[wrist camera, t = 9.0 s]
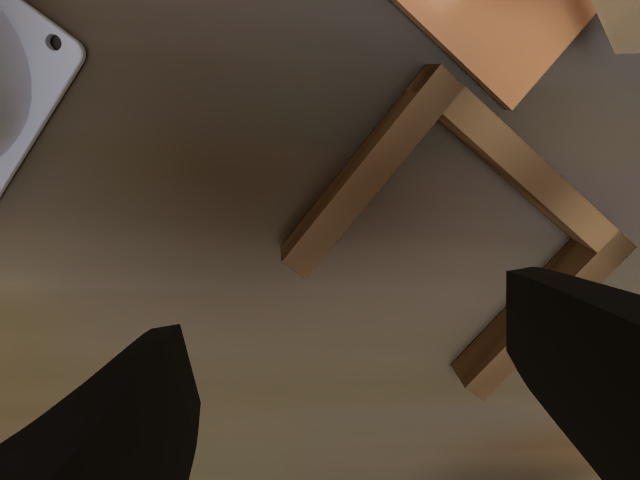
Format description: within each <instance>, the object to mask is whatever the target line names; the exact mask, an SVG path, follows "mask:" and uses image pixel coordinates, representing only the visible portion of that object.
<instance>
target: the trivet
mask: <svg viewBox="0 0 640 480" xmlns="http://www.w3.org/2000/svg"><path fill="white" fill-rule="evenodd" d="M391 1H392V2H393V3H394V4H395V5H396V6H397V7H398V8H399V9H400V10H401V11H402V12H403V13H404V14H405V15H406V16H407V17H408V18H409V19H411V20H412V21H413V22H414V23H415V24H416V25H417V26H418V27H419V28H420V29H421V30H422V31H423V32H424V33H425V34H426V35H427V36H428V37H429V38H431V39H432V40H433V41H434V42H435V43H436V44H437V45H438V46H439V47H440V48H441V49H442V50H443V51H444V52H445V53H446V54H447V55H448V56H449V57H451V58H452V59H453V60H454V61H455V62H456V63H457V64H458V65H459V66H460V67H461V68H462V69H463V70H464V71H465V72H466V73H467V74H468V75H469V76H471V77H472V78H473V79H474V80H475V81H476V82H477V83H478V84H479V85H480V86H481V87H482V88H483V89H484V90H485V91H486V92H487V93H488V94H490V95H491V96H492V97H493V98H494V99H495V100H496V101H497V102H498V103H499V104H500V105H501V106H502V107H503V108H504V109H506V110H513V109H514V108H515V107H516V106H517V104H518V103H519V102H520V101H521V100H522V99H523V97H524V96H525V95H526V94H527V93H528V92H529V91H530V89H531V88H532V87H533V86H534V85H535V84H536V82H537V81H538V80H539V79H540V78H541V77H542V75H543V74H544V73H545V72H546V71H547V70H548V68H549V67H550V66H551V65H552V64H553V63H554V62H555V60H556V59H557V58H558V57H559V56H560V55H561V53H562V52H563V51H564V50H565V49H566V48H567V46H568V45H569V44H570V43H571V42H572V41H573V39H574V38H575V37H576V36H577V35H578V34H579V33H580V31H581V30H582V29H583V28H584V27H585V26H586V24H587V23H588V22H589V21H590V20H591V19H592V17H593V16H594V15H595V14H596V13H597V12H596V10H595V8H594V6H593V3H592V1H591V0H391Z"/></svg>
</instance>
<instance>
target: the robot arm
mask: <svg viewBox="0 0 640 480" xmlns="http://www.w3.org/2000/svg"><path fill="white" fill-rule="evenodd" d="M54 35H57V36H58V37H59V38H60V39H61V43H62V45H61V48H60V49H59V50H54V48H53V47H52V46H51V43H50V40H51V37H53V36H54ZM85 58H86V51H85V49H84V47H83V45H82V44H81V43H80V42H79V41H78V40H77V39H76V38H74V37H73V36H72V35H70V34H69V33H67V32H66V31H65V30H63V29H62V28H61V27H59V26H58V25H57V24H55V23H54V22H53V21H51V20H50V19H48V18H47V17H46V16H44V15H43V14H42V13H40V12H39V11H38V10H36V9H35V8H34V7H32V6H31V5H29V4H28V3H27V2H25V1H24V0H0V197H1V195H2V194H3V192H4V191H5V189H6V187H7V186H8V184H9V182H10V181H11V179H12V178H13V176H14V174H15V173H16V171H17V170H18V168H19V166H20V165H21V163H22V162H23V160H24V158H25V157H26V155H27V153H28V152H29V150H30V149H31V147H32V145H33V144H34V142H35V141H36V139H37V137H38V136H39V134H40V132H41V131H42V129H43V128H44V126H45V124H46V123H47V121H48V120H49V118H50V116H51V115H52V113H53V111H54V110H55V108H56V107H57V105H58V103H59V102H60V100H61V99H62V97H63V95H64V94H65V92H66V91H67V89H68V87H69V86H70V84H71V82H72V81H73V79H74V78H75V76H76V74H77V73H78V71H79V70H80V68H81V66H82V65H83V63H84V61H85ZM506 351H507V353H508V355H509V357H510V358H511V360H512V362H513V364H514V365H515V367H516V369H517V371H518V372H519V374H520V375H521V377H522V379H523V380H524V382H525V384H526V385H527V387H528V388H529V390H530V391H531V392H532V393H533V395H534V396H535V397H536V399H537V400H538V401H539V402H540V404H541V405H542V406H543V407H544V409H545V410H546V411H547V412H548V414H549V415H550V416H551V417H552V419H553V420H554V421H555V422H556V424H557V425H558V426H559V427H560V429H561V430H562V431H563V432H564V433H565V435H566V436H567V437H568V438H569V440H570V441H571V442H572V443H573V445H574V446H575V447H576V448H577V449H578V451H579V452H580V453H581V454H582V456H583V457H584V458H585V459H586V461H587V462H588V463H589V464H590V466H591V467H592V468H593V469H594V470H595V472H596V473H597V474H598V476H599V477H600V478H601V480H640V295H639V294H635V293H632V292H628V291H624V290H621V289H617V288H614V287H610V286H607V285H604V284H600V283H597V282H593V281H590V280H586V279H583V278H579V277H576V276H572V275H569V274H565V273H561V272H557V271H553V270H549V269H544V268H538V267H529V268H523V269H517V270H511V271H506ZM200 404H201V402H200V398H199V395H198V391H197V387H196V383H195V379H194V376H193V372H192V368H191V364H190V361H189V357H188V353H187V349H186V345H185V342H184V338H183V334H182V330H181V327H180V324H177V325H171V326H165V327H159V328H153V329H150V330H149V331H147V332H146V333H144V334H143V335H141V336H140V337H139V338H138V339H136V340H135V341H134V342H133V343H131V344H130V345H129V346H128V347H126V348H125V349H124V350H123V351H122V352H121V353H119V354H118V355H117V356H116V357H115V358H113V359H112V360H111V361H110V362H109V363H107V364H106V365H105V366H104V367H103V368H101V369H100V370H99V371H98V372H97V373H95V374H94V375H93V376H92V377H91V378H89V379H88V380H87V381H86V382H84V383H83V384H82V385H81V386H79V387H78V388H77V389H75V390H74V391H73V392H71V393H70V394H69V395H68V396H66V397H65V398H64V399H62V400H61V401H60V402H58V403H57V404H56V405H55V406H53V407H52V408H51V409H49V410H48V411H47V412H45V413H44V414H43V415H41V416H40V417H39V418H37V419H36V420H34V421H33V422H32V423H30V424H29V425H27V426H26V427H24V428H23V429H22V430H20V431H19V432H17V433H16V434H14V435H13V436H11V437H10V438H8V439H7V440H5V441H4V442H2V443H0V480H189V476H190V472H191V468H192V463H193V459H194V454H195V450H196V445H197V436H198V427H199V416H200Z"/></svg>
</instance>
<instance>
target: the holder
mask: <svg viewBox="0 0 640 480" xmlns="http://www.w3.org/2000/svg"><path fill="white" fill-rule="evenodd" d="M437 120H439V121H440V122H441V123H442V124H443V125H444V126H445V127H447V128H448V129H449V130H450V131H451V132H452V133H453V134H454V135H456V136H457V137H458V138H459V139H460V140H461V141H462V142H463V143H465V144H466V145H467V146H468V147H469V148H470V149H471V150H472V151H474V152H475V153H476V154H477V155H478V156H479V157H480V158H481V159H483V160H484V161H485V162H486V163H487V164H488V165H489V166H490V167H492V168H493V169H494V170H495V171H496V172H497V173H498V174H499V175H501V176H502V177H503V178H504V179H505V180H506V181H507V182H508V183H510V184H511V185H512V186H513V187H514V188H515V189H516V190H517V191H519V192H520V193H521V194H522V195H523V196H524V197H525V198H526V199H528V200H529V201H530V202H531V203H532V204H533V205H534V206H535V207H537V208H538V209H539V210H540V211H541V212H542V213H543V214H544V215H546V216H547V217H548V218H549V219H550V220H551V221H552V222H553V223H555V224H556V225H557V226H558V227H559V228H560V229H561V230H562V231H564V232H565V233H566V234H567V235H568V236H569V237H570V238H571V240H570V241H569V242H568V243H567V244H566V245H565V246H564V247H563V248H562V249H561V250H560V251H559V252H558V253H557V254H556V255H555V256H554V258H553V259H552V260H551V261H550V262H549V263H548V264H547V265H546V266H545V267H544V269H549V270H553V271H557V272H561V273H565V274H569V275H572V276H576V277H579V278H583V279H586V280H590V281H593V282H597V283H600V284H601V283H602V282H603V281H604V280H605V279H606V278H607V277H608V276H609V275H610V274H611V273H612V272H613V271H614V270H615V269H616V268H617V267H618V266H619V265H620V264H621V263H622V262H623V261H624V260H625V259H626V258H627V257H628V256H629V255H630V254H631V253H632V252H633V251H634V250H635V249H636V248H637V247H636V246H635V245H634V244H633V243H632V242H631V241H630V240H629V239H628V238H627V237H626V236H624V235H623V234H622V233H621V232H620V231H619V230H618V229H617V228H616V227H615V226H614V225H613V224H612V223H611V222H610V221H608V220H607V219H606V218H605V217H604V216H603V215H602V214H601V213H600V212H599V211H598V210H597V209H596V208H595V207H594V206H592V205H591V204H590V203H589V202H588V201H587V200H586V199H585V198H584V197H583V196H582V195H581V194H580V193H579V192H578V191H576V190H575V189H574V188H573V187H572V186H571V185H570V184H569V183H568V182H567V181H566V180H565V179H564V178H563V177H562V176H560V175H559V174H558V173H557V172H556V171H555V170H554V169H553V168H552V167H551V166H550V165H549V164H548V163H547V162H546V161H544V160H543V159H542V158H541V157H540V156H539V155H538V154H537V153H536V152H535V151H534V150H533V149H532V148H531V147H530V146H528V145H527V144H526V143H525V142H524V141H523V140H522V139H521V138H520V137H519V136H518V135H517V134H516V133H515V132H514V131H512V130H511V129H510V128H509V127H508V126H507V125H506V124H505V123H504V122H503V121H502V120H501V119H500V118H499V117H498V116H496V115H495V114H494V113H493V112H492V111H491V110H490V109H489V108H488V107H487V106H486V105H485V104H484V103H483V102H482V101H480V100H479V99H478V98H477V97H476V96H475V95H474V94H473V93H472V92H471V91H470V90H469V89H468V88H467V87H466V86H464V85H463V84H462V83H461V82H460V81H459V80H458V79H457V78H456V77H455V76H454V75H453V74H452V73H451V72H450V71H448V70H447V69H446V68H445V67H444V66H443V65H442V64H429V65H425V66H424V67H423V69H422V70H421V71H420V72H419V74H418V75H417V76H416V77H415V79H414V80H413V81H412V82H411V84H410V85H409V86H408V87H407V89H406V90H405V91H404V92H403V94H402V95H401V96H400V97H399V99H398V100H397V101H396V102H395V104H394V105H393V106H392V107H391V109H390V110H389V111H388V112H387V114H386V115H385V116H384V117H383V119H382V120H381V121H380V123H379V124H378V125H377V126H376V128H375V129H374V130H373V131H372V133H371V134H370V135H369V136H368V138H367V139H366V140H365V141H364V143H363V144H362V145H361V146H360V148H359V149H358V150H357V151H356V153H355V154H354V155H353V156H352V158H351V159H350V160H349V161H348V163H347V164H346V165H345V166H344V168H343V169H342V170H341V171H340V173H339V174H338V175H337V176H336V178H335V179H334V180H333V181H332V183H331V184H330V185H329V187H328V188H327V189H326V190H325V192H324V193H323V194H322V195H321V197H320V198H319V199H318V200H317V202H316V203H315V204H314V205H313V207H312V208H311V209H310V210H309V212H308V213H307V214H306V215H305V217H304V218H303V219H302V220H301V222H300V223H299V224H298V225H297V227H296V228H295V229H294V230H293V232H292V233H291V234H290V235H289V237H288V238H287V239H286V240H285V242H284V243H283V244H282V245H281V262H282V263H283V264H285V265H286V266H288V267H289V268H291V269H292V270H293V271H295V272H296V273H298V274H299V275H301V276H302V277H304V278H305V279H306V278H307V277H308V276H309V275H310V274H311V272H312V271H313V270H314V269H315V268H316V266H317V265H318V264H319V263H320V262H321V260H322V259H323V258H324V257H325V256H326V254H327V253H328V252H329V251H330V249H331V248H332V247H333V246H334V245H335V243H336V242H337V241H338V240H339V239H340V237H341V236H342V235H343V234H344V233H345V231H346V230H347V229H348V228H349V226H350V225H351V224H352V223H353V222H354V220H355V219H356V218H357V217H358V216H359V214H360V213H361V212H362V211H363V210H364V208H365V207H366V206H367V205H368V203H369V202H370V201H371V200H372V199H373V197H374V196H375V195H376V194H377V193H378V191H379V190H380V189H381V188H382V187H383V185H384V184H385V183H386V182H387V181H388V179H389V178H390V177H391V176H392V174H393V173H394V172H395V171H396V170H397V168H398V167H399V166H400V165H401V164H402V162H403V161H404V160H405V159H406V158H407V156H408V155H409V154H410V153H411V151H412V150H413V149H414V148H415V147H416V145H417V144H418V143H419V142H420V141H421V139H422V138H423V137H424V136H425V135H426V133H427V132H428V131H429V130H430V129H431V127H432V126H433V125H434V124H435V122H436V121H437ZM451 366H452V368H453V369H454V371H455V372H456V374H457V376H458V377H459V379H460V381H461V382H462V384H463V386H464V387H465V388H466V389H467V390H469V391H470V392H472V393H473V394H475V395H476V396H477V397H479V398H480V399H482V400H483V401H484V400H485V399H486V398H487V397H488V396H489V395H490V394H491V393H492V392H493V391H494V390H495V389H496V388H497V387H498V386H499V385H500V384H501V383H502V382H503V381H504V380H505V379H506V378H507V377H508V376H509V375H510V374H511V373H512V372H513V371H514V370H515V369H516V367H515V365H514V364H513V362H512V360H511V358H510V357H509V355H508V353H507V351H506V308H505V309H504V310H503V311H502V312H501V313H500V314H499V315H498V316H497V317H496V318H495V319H494V320H493V321H492V322H491V323H490V324H489V325H488V326H487V327H486V328H485V329H484V331H483V332H482V333H481V334H480V335H479V336H478V337H477V338H476V339H475V340H474V341H473V342H472V343H471V344H470V345H469V346H468V347H467V348H466V349H465V350H464V351H463V352H462V353H461V355H460V356H459V357H458V358H457V359H456V360H455V361H454V362H453V363H452V364H451Z"/></svg>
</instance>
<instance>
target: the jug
mask: <svg viewBox="0 0 640 480" xmlns="http://www.w3.org/2000/svg"><path fill="white" fill-rule="evenodd" d="M591 1H592V3H593V6H594V8H595V10H596V12H597V15H598V17H599V19H600V21H601V24H602V26H603V28H604V30H605V33H606V35H607V37H608V39H609V42H610V44H611V46H612V48H613V51H614V53H615V54H632V53H640V0H591Z"/></svg>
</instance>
